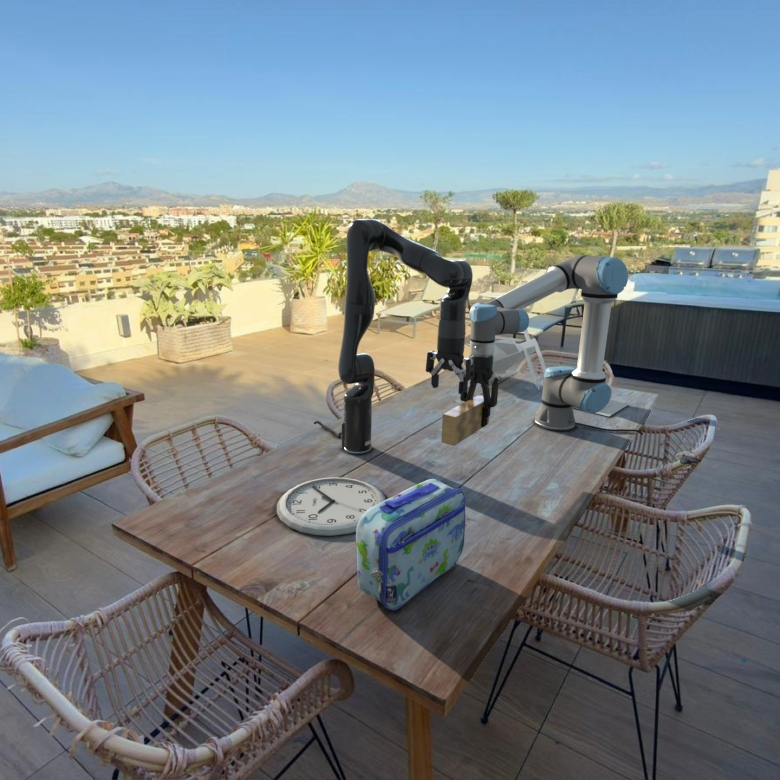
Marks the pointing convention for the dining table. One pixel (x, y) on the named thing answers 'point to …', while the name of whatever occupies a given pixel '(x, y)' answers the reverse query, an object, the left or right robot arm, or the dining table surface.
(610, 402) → the thin gray rectangular panel
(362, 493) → the wall clock
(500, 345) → the white plastic object
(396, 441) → the dining table surface
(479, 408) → the bar
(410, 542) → the lunch box
